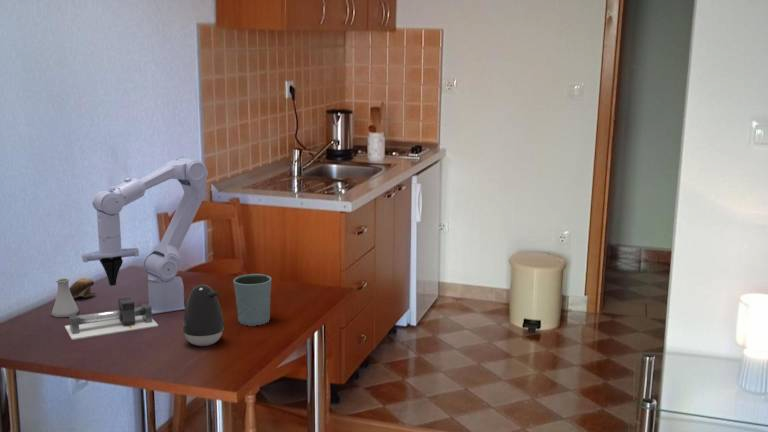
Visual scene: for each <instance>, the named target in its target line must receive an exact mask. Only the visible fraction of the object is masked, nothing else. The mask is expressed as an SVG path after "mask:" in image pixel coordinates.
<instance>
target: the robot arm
mask: <svg viewBox="0 0 768 432" xmlns="http://www.w3.org/2000/svg"><path fill="white" fill-rule="evenodd" d="M208 176H209V172H208V169H207V166H206V165H205V163H204V162H203V161H202V160H200V159H199V160H198V159H193V158H187V157H184V156H179V157H178V156H177V157H176V158H175V159H171V160H169V161H167V163H165V164H163V165H162V166H160V167H158V168H156V169H155V170H153V171H151V172H150V173H148V174H146V175H144V176H143V177H141V178H139V179H138V178H136V177H131V178H130V177H126V178H124V182H122V183H119V184H117V185H116V186H114V185H113V186H110V187H109V188H108V189H109V190H101V191H99V192H97V194H95V196H94V197H93V201H91V203H92V207H93V208H94V210H95V211H96V217H97V219H96V221H97V236H98V250H97V251H92V252H86V253H81V259H82V260H81V261H82V262H83V263H88V262H93V261H99V262H100V264H101V266H102V268H103V270H104V272H105V274H106V277H107V280H108V285H110V287H112V286H116V285H117V279H118V276H119V272H120V269H121V267H122V265H123V262H124V260H123V259H122V258H129V257H139V255H140V251H139V248H137V247H134V248H133V247H131V248H122V235H121V219H120V212H121V211H122V209H123V207H125V206H127V205H129V204H131V203H133V202H135V201H136V200H139V199H140V198H143V197H144V195H145V194H146V191H147V190H149V189H151V188H153V187H156V186H158V185H161V184H162V183H164V182H167V181H169V180H170V179H172V180H173V179H174V180H177V182H178V183H180V186H181V188H182V190H183V193H184V194H183V195H182V198H181V200H180V201H179V204H178V206H177V207H176V210H175V212H174V215H173V216H172V219H171V220H170V222H169V224H168V226H167V228H166V230H165V232H164V234H163V236H162V239H161V241H160V242H159V243H157V245H155V246H154V247H152V250H151V251H150V252H149V253H148V254H147V255H146V256H145V258H144V259H143V262H142V266H143V269H144V271H145V273H147V287H148V303H147V304H148V305H149V306H150V307H151V308H152V315H155V314H162V313H168V312H174V311H175V312H176V311H181V310H185V307H186V306H185V292H184V291H185V290H184V289H185V288H184V283H183V279H182V277H181V276H179V275H178V276H177V274H178V271H179V264H180V263H179V262H180V260H181V255H180V252H179V250H180V248H181V246H182V244H183V241H184V240H185V237H186V236H187V234H188V231H189V230H190V227H191V225H192V224H193V221H194V219H195V216H196V215H197V212H198V210H199V209H200V206H201V204H202V202H203V200H204V198H205V196H206V189H207V188H206V186H207V185H206V183H207V182H206V181H207V179H208Z"/></svg>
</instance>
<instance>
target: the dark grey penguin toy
mask: <svg viewBox="0 0 768 432" xmlns="http://www.w3.org/2000/svg"><path fill="white" fill-rule="evenodd" d="M219 294H220V293H219V291H217V290H216V291H214V290H213V289H212V288H211V287H210V286H208V285H207V284H199V285H196V286H195V287H193V289H192V290H191V292H190V294H189V296H188V299H187V301H186V305H185V306H184V307H185V309H184V313H183V320H182V333H184V337H185V339H186V340H187V341H188V342H189V343H190V344H192V345H194V346H198V347H206V346H207V347H208V346H212V345H214V344H215V343H216V342H218V341H219V340H220V338H221V336H222V335H223V331H224V329H225V324H224V323H225V322H224V317H223V312H222V309H221V305H220V302H219V300H218V297H217V296H219Z"/></svg>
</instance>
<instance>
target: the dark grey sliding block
mask: <svg viewBox="0 0 768 432" xmlns="http://www.w3.org/2000/svg"><path fill="white" fill-rule="evenodd" d="M117 301H118V310H121V309H122V315H123V318H121V319H119V320H120V321H121V322H122V324H123V325H130V324H135V302H134V301H133V299H132V298H131V297H126V298H118V300H117Z"/></svg>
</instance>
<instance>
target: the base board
mask: <svg viewBox="0 0 768 432" xmlns="http://www.w3.org/2000/svg"><path fill="white" fill-rule="evenodd" d="M157 327H159V324H158V323H157V322H156V320H154V319H153V318H152V322H149V323H146V322H145V321H144V320H143V319H142V316H135V324H130V325H123V324H122V322H121V321H120V320H119V319H115V320H108V321H101V322H95V323H88V324H81V325H79V333H77V334H73V333H72V332H71V330H70V324H68V325H64V329H65V331H66V332H67V334H68V336H69V337H70V339H71V341H74V340H75V341H77V340H81V339H82V340H83V339H88V338H94V337H95V338H96V337H101V336H107V335H113V334H120V333H126V332H132V331H138V330H139V331H140V330H144V329H145V330H146V329H151V328H157Z"/></svg>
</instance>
